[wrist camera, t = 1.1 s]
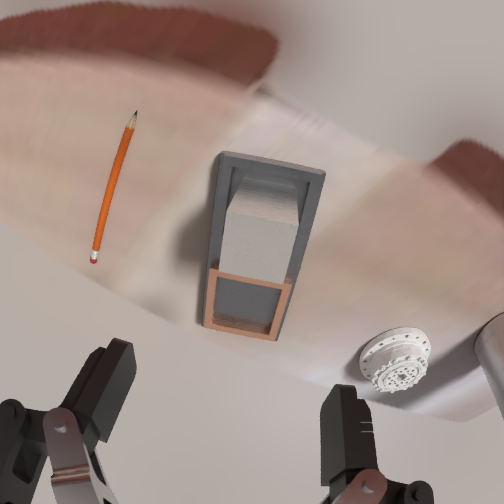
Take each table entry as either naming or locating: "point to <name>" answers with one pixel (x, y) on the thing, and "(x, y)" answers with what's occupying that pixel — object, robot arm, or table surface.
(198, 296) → the table surface
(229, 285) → the double frame tray
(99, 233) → the pencil
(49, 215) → the table surface
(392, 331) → the mechanical component
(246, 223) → the block
